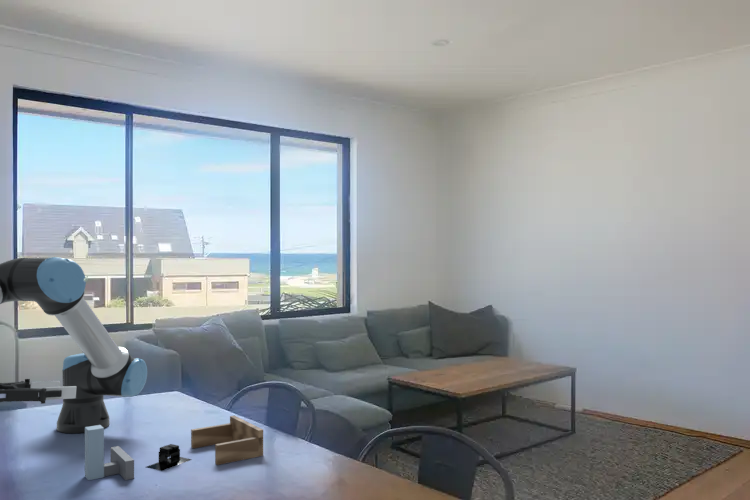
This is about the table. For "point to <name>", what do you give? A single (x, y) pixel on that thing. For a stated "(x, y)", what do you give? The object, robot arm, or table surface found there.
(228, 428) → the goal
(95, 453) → the block
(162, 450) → the black angular piece
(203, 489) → the table surface
